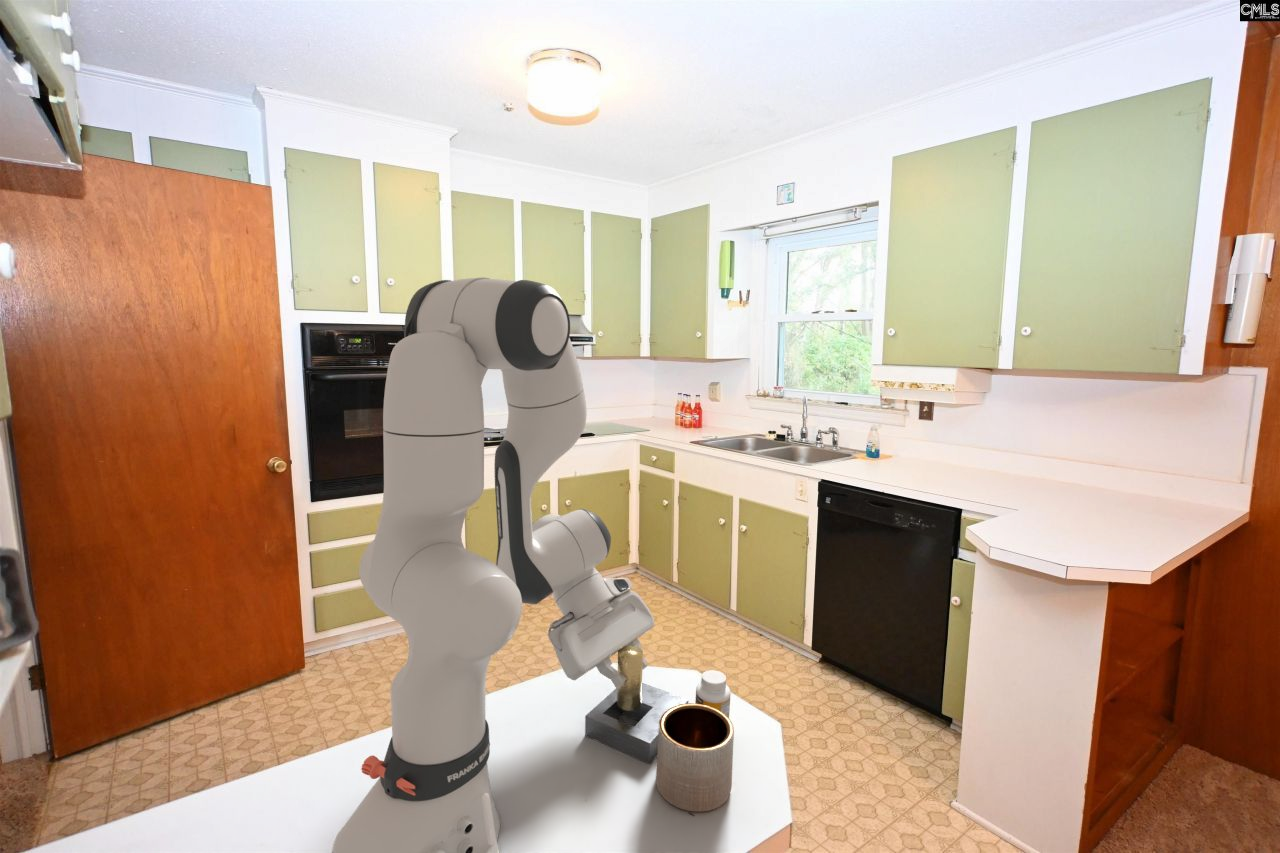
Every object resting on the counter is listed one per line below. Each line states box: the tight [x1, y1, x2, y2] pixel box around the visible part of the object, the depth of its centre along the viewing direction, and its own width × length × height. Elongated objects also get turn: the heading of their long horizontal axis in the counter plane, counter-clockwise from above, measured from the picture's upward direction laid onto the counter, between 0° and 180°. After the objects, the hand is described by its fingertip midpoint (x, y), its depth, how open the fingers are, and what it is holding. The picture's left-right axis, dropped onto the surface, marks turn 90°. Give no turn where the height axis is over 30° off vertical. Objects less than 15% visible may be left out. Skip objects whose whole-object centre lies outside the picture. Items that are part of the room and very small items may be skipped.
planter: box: [655, 702, 735, 813], centre depth 86 cm, size 11×11×10 cm
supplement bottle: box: [694, 669, 731, 719], centre depth 97 cm, size 6×6×10 cm
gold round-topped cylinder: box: [617, 646, 644, 711], centre depth 97 cm, size 4×4×9 cm
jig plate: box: [584, 682, 689, 765], centre depth 99 cm, size 13×12×4 cm
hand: (632, 677), depth 97 cm, fingers closed on gold round-topped cylinder, 4 cm apart
